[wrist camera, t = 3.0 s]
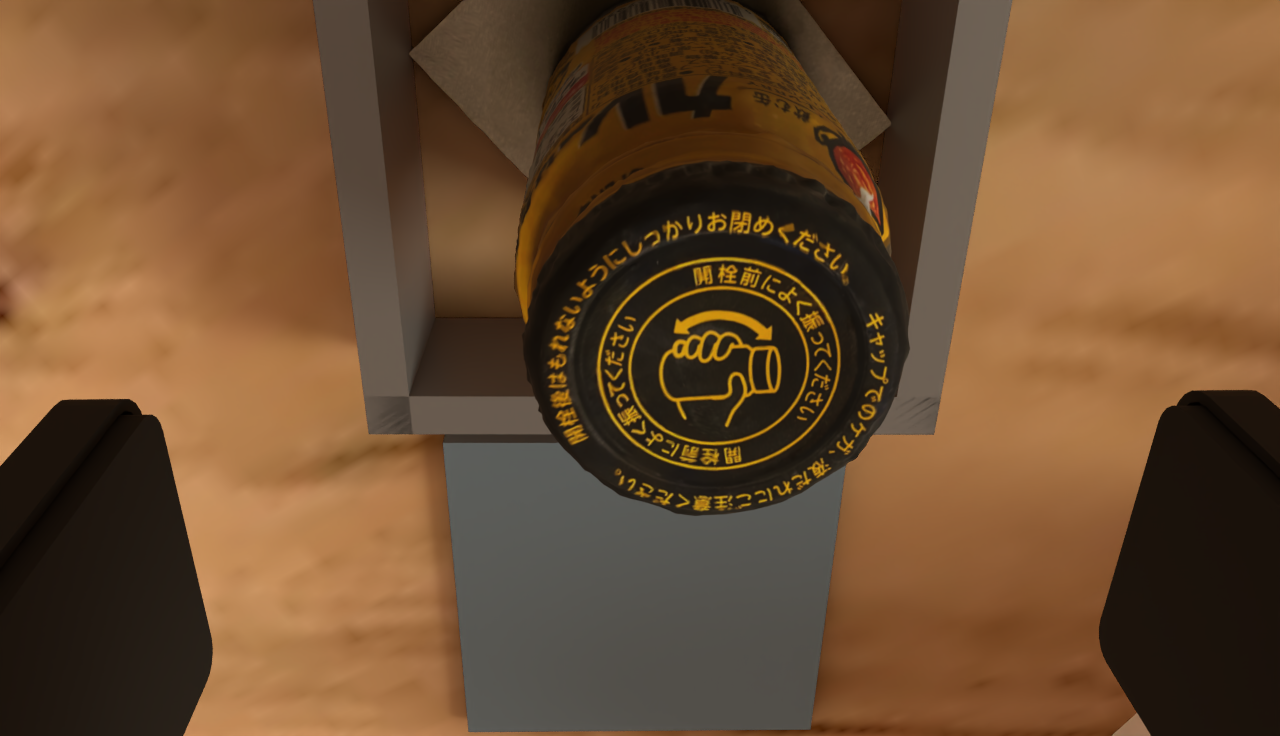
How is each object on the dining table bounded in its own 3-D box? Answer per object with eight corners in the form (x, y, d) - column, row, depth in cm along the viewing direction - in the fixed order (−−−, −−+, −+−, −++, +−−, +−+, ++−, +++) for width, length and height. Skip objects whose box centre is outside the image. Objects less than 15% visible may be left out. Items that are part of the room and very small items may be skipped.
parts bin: (332, -276, 20) (274, -292, 17) (986, -264, 21) (1061, -275, 17) (399, 352, 27) (368, 434, 24) (893, 353, 28) (933, 434, 24)
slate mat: (445, 433, 28) (442, 443, 28) (845, 433, 29) (848, 443, 28) (470, 720, 34) (468, 731, 33) (807, 717, 34) (810, 729, 34)
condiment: (654, 307, 27) (682, 642, 16) (409, 51, 23) (243, 261, 13) (890, 121, 24) (1102, 368, 14) (656, -190, 21) (701, -175, 11)
